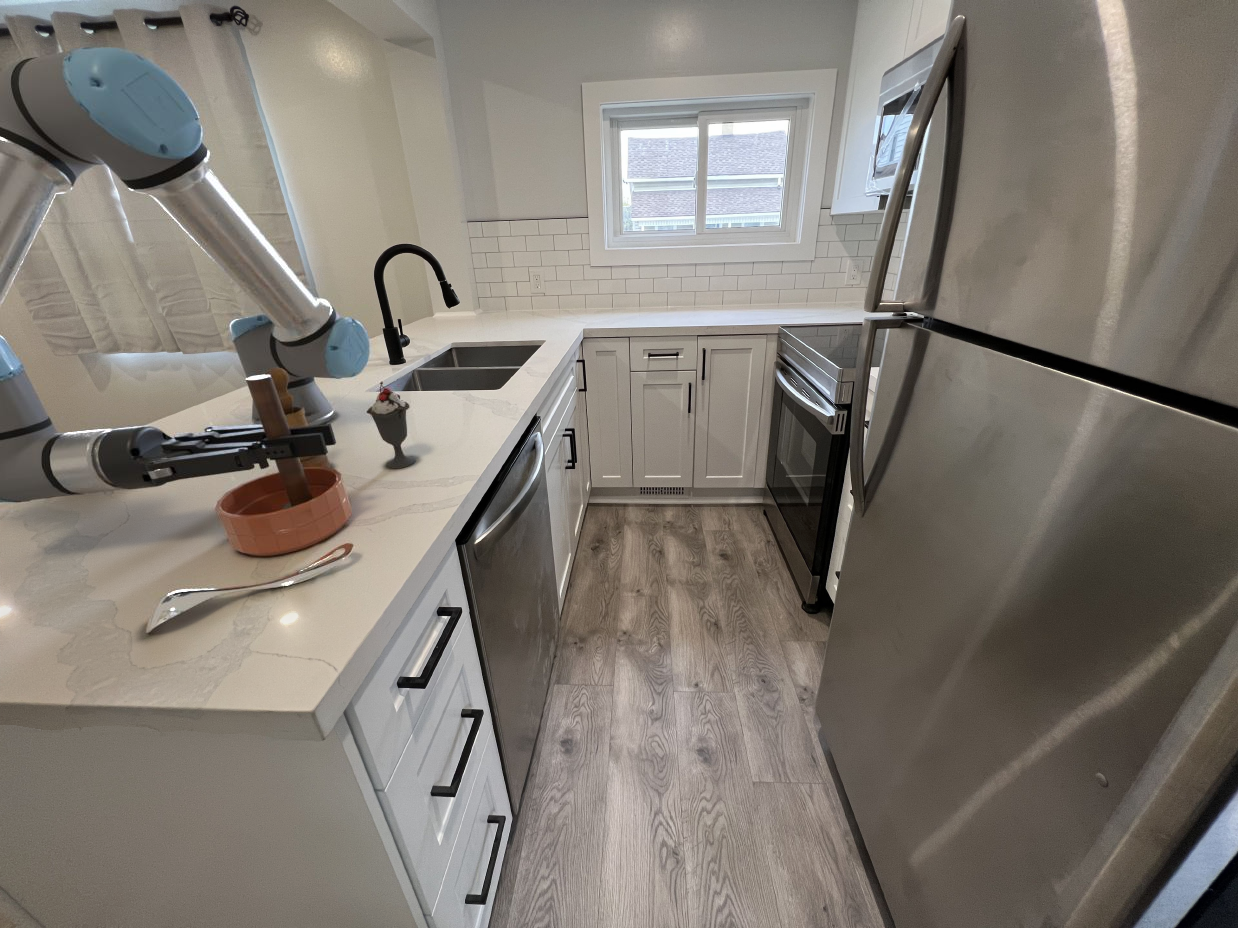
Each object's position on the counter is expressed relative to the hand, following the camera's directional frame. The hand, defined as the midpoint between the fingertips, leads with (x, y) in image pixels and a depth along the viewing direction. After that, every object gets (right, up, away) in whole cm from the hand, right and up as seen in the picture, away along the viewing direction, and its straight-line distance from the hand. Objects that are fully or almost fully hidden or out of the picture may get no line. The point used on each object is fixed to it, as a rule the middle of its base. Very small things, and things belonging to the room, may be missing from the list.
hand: (328, 438), depth 64 cm
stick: (-5, -10, +3) cm, 11 cm away
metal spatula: (-3, -18, -8) cm, 20 cm away
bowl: (-7, -12, +4) cm, 14 cm away
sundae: (-1, -3, +23) cm, 23 cm away
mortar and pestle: (-15, -5, +21) cm, 26 cm away
